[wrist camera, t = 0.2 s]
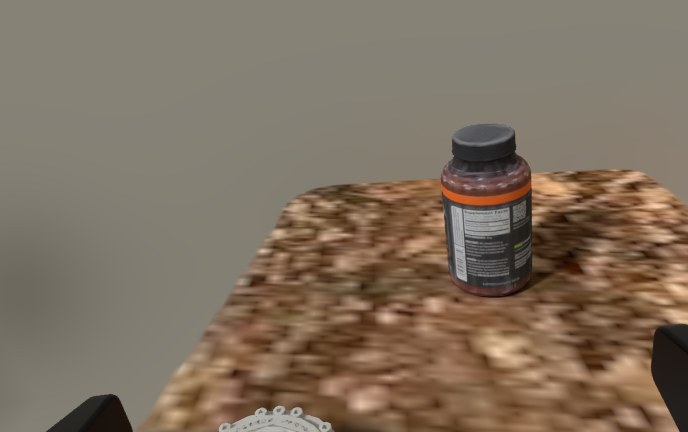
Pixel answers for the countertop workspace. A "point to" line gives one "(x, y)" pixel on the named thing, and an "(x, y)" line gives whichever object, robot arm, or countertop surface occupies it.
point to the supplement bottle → (487, 211)
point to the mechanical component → (278, 422)
